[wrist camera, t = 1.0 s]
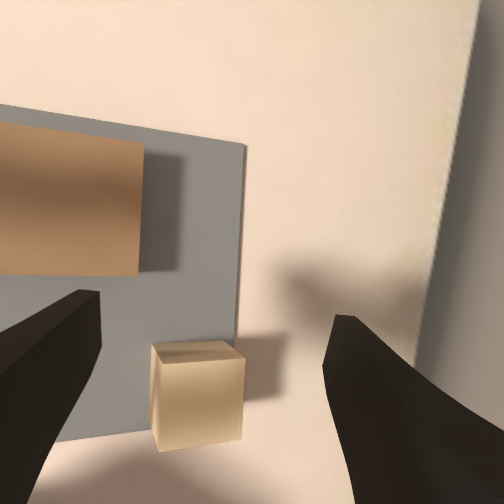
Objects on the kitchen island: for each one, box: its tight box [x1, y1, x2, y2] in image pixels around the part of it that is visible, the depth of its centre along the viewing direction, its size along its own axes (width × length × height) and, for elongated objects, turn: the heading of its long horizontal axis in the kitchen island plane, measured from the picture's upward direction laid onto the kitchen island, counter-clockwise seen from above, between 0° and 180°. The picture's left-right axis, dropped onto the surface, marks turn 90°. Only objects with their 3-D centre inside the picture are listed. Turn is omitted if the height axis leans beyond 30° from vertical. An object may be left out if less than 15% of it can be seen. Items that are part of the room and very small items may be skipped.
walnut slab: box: [0, 122, 144, 277], centre depth 20 cm, size 7×7×2 cm
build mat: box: [0, 104, 244, 443], centre depth 22 cm, size 18×14×1 cm
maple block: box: [148, 340, 246, 452], centre depth 22 cm, size 4×4×4 cm
